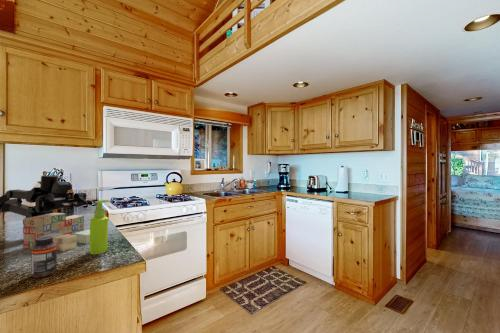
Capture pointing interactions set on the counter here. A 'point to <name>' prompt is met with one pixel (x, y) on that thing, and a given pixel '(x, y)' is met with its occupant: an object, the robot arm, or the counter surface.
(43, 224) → the stack of blocks
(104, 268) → the counter surface
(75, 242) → the maple cube
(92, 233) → the soap dispenser
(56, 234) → the grey cube
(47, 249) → the supplement bottle
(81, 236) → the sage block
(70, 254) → the counter surface
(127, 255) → the counter surface
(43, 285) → the counter surface
